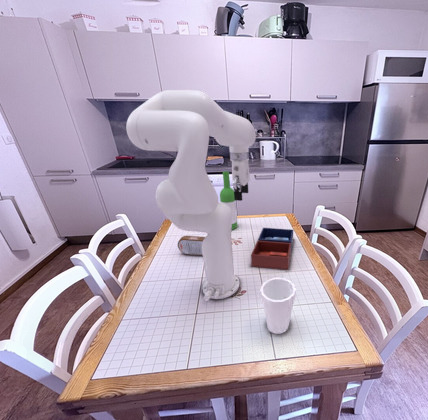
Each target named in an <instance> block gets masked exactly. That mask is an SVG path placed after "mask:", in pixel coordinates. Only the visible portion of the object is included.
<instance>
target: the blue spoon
mask: <svg viewBox="0 0 428 420" xmlns="http://www.w3.org/2000/svg"><path fill="white" fill-rule="evenodd" d="M265 239H273V240H286V241H289V238H280V237H274V238H271V237H267V238H265Z"/></svg>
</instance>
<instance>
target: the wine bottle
mask: <svg viewBox="0 0 428 420" xmlns="http://www.w3.org/2000/svg"><path fill="white" fill-rule="evenodd" d="M222 180H223V188H222V189H221V190H220V192H219V200H220V201H219V202H220V203H224V204H227V205H228V206H229V207H230V208H231V210H232V215H233V217H232V228H231V231H232V230H235V229H237V227H238V213H237V212H238V211H237V200H234V188H233V187H231V182H230V181H231V180H230V172H229V170H228V171H226V170H225V171H222Z"/></svg>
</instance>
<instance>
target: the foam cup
mask: <svg viewBox="0 0 428 420" xmlns="http://www.w3.org/2000/svg"><path fill="white" fill-rule="evenodd" d="M296 292H297V291H296V286H295V284H294V283H293V282H292V281H291V280H289V279H287V278H285V277H272V278H269V279H267V280H265V281H264V282H263V283H262V284H261V287H260V300H261V302H262V306H263V311H264V316H265V321H266V327H267V329H268V330H269V332H271V333H273V334H275V335H278V334H279V335H281V334H283V333H285V332H286V331H287V330H288V329H289V325H290V321H291V316H292V311H293V306H294V303H295V300H296V295H297V294H296Z"/></svg>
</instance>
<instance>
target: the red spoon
mask: <svg viewBox="0 0 428 420" xmlns="http://www.w3.org/2000/svg"><path fill="white" fill-rule="evenodd" d="M260 255H268V256H280V257H287V253H280V252H270V253H269V252H262V253H260Z"/></svg>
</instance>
